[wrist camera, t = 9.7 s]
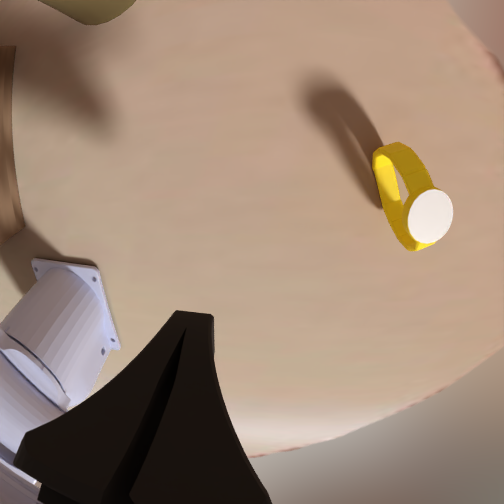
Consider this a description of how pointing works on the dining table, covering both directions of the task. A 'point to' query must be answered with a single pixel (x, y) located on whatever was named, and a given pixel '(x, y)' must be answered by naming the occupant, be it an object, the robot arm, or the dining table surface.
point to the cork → (90, 9)
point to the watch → (411, 197)
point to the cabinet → (8, 152)
